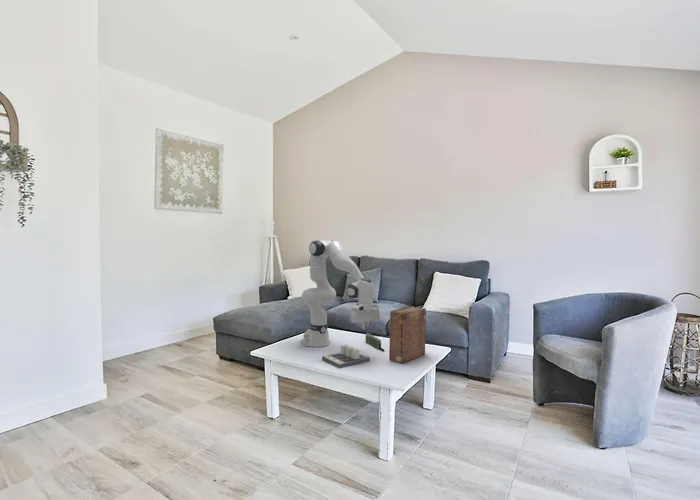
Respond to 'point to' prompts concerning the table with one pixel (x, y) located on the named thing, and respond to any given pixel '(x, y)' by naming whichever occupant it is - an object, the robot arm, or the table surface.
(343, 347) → the tab inner
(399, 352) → the book
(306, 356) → the table surface
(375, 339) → the handheld radio
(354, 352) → the block
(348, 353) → the tab middle
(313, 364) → the table surface
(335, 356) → the switch panel
